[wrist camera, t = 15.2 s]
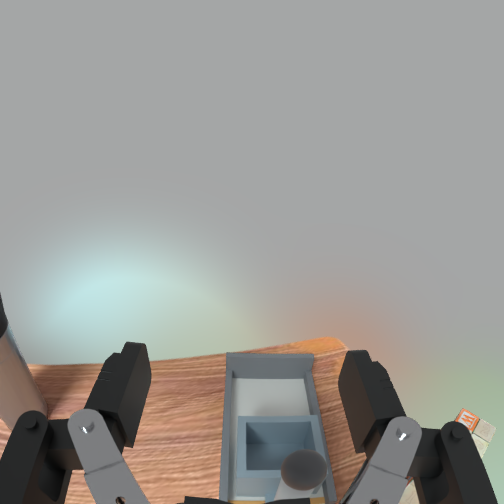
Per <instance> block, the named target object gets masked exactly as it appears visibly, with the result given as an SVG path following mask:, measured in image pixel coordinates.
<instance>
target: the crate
mask: <svg viewBox="0 0 504 504" xmlns="http://www.w3.org/2000/svg"><path fill="white" fill-rule="evenodd" d="M327 476H328V468H327V463H326V458H325V452H324V447H323V442H322V437H321V431H320V426H319V421H318V416H317V415H305V416H238V426H237V467H236V497H265V503H267V502H272V501H276V500H279V499H297V498H309V497H310V495H311V494H317V492H318V490H319V489H320V487H321V486H322V484H323V482H324V481H325V479H326V477H327Z"/></svg>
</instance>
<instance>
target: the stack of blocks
mask: <svg viewBox="0 0 504 504" xmlns="http://www.w3.org/2000/svg"><path fill="white" fill-rule="evenodd" d="M454 421H456V422H460V423H462V424H464V425H465V426H466V427H467V428H468V429H469V431H470V433H471V436H472V438H473V440H474V442H475V445H476V447H477V450H478V452H479V454H480V457H481V459H482V457H483V455H484V453H485V451H486V449H487V447H488V445H489V443H490V441H491V439H492V437H493V435H494V433H495V430H496V428H495V427H494V426H492V425H490V424H489V423H487V422H486V421H484V420H483V419H479V417H477V416H476V415H474V414H472V413H470V412H469V411H467V410H465V409H464V408H462V410H461V411H460V413H459V414H458V416H457V417H456V419H455V420H454ZM399 504H419V500H418V496H417V492H416V488H415V484H414V480H413V477H410V476H409V478H408V483H407V486H406V488H405V490H404V493H403V495H402V497H401V499H400V502H399Z"/></svg>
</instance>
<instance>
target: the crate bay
mask: <svg viewBox="0 0 504 504" xmlns="http://www.w3.org/2000/svg"><path fill="white" fill-rule="evenodd" d="M313 361H314V355H313V354H255V353H226V380H225V396H224V413H223V430H222V448H221V467H220V487H219V500H222V501H226V502H230V503H234V504H263V503H265V497H236V467H237V426H238V416H305V415H317V416H318V421H319V426H320V431H321V437H322V442H323V447H324V452H325V458H326V463H327V468H328V476H327V477H326V479H325V481H324V482H323V484H322V486H321V487H320V489H319V490H318V492H317V494H311V495H310V503H311V504H335V503H336V501H337V496H336V491H335V485H334V480H333V475H332V469H331V464H330V459H329V454H328V449H327V444H326V439H325V434H324V429H323V424H322V419H321V414H320V409H319V405H318V400H317V395H316V390H315V386H314V381H313V377H312V372H311V369H312V365H313Z"/></svg>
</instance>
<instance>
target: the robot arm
mask: <svg viewBox="0 0 504 504" xmlns="http://www.w3.org/2000/svg"><path fill="white" fill-rule="evenodd" d="M150 384H151V368H150V363H149V358H148V353H147V348H146V345H145V344H143V343H135V342H126V343H125V345H124V347H123V350H122V352H121V353H113V354H112V355H111V356H110V357H109V358H108V359H107V360H106V361H105V363H104V365H103V367H102V369H101V372H100V373H99V376H98V379H97V380H96V382H95V384H94V387H93V389H92V391H91V393H90V396H89V398H88V400H87V403H86V405H85V407H84V409H82V410H79V411H77V412H75V413H74V414H72V415H71V417H70V418H69V419H56V420H48V419H47V418H46V417H47V413H48V407H47V403H46V401H45V399H44V397H43V396H42V394H41V392H40V390H39V388H38V386H37V384H36V382H35V380H34V378H33V376H32V374H31V372H30V370H29V368H28V366H27V364H26V362H25V360H24V358H23V356H22V354H21V351H20V349H19V347H18V344H17V342H16V340H15V337H14V335H13V333H12V330H11V328H10V325H9V323H8V320H7V318H6V315H5V312H4V308H3V303H2V299H1V294H0V418H2V420H3V421H4V422H5V424H6V425H7V426H8V428H10V429H11V430H12V433H11V435H10V438H9V440H8V442H7V445H6V447H5V450H4V452H3V455H2V457H1V460H0V504H64V502H65V498H66V494H67V490H68V486H69V482H70V478H71V474H72V470H82V469H84V471H85V474H84V477H85V480H86V483H87V485H88V487H89V489H90V491H91V494H92V496H93V498H94V500H95V502H96V504H150V502H149V501H148V499H147V498H146V496H145V494H144V493H143V491H142V490H141V488H140V486H139V485H138V483H137V481H136V480H135V478H134V476H133V474H132V473H131V471H130V469H129V467H128V466H127V464H126V462H125V460H124V458H123V456H122V452H123V449H124V446H125V447H130V448H133V446H134V442H135V438H136V434H137V430H138V427H139V423H140V419H141V416H142V412H143V409H144V405H145V401H146V398H147V394H148V391H149V388H150ZM338 387H339V392H340V396H341V400H342V403H343V407H344V410H345V414H346V418H347V421H348V425H349V429H350V432H351V436H352V440H353V444H354V448H355V452H356V453H363V452H365V453H366V457H367V458H366V460H365V461H364V463H363V465H362V467H361V469H360V470H359V472H358V474H357V476H356V477H355V479H354V481H353V483H352V484H351V486H350V488H349V489H348V491H347V492H346V494H345V496H344V497H343V498H342V500H341V501H340V503H339V504H399V502H400V499H401V497H402V495H403V493H404V490H405V488H406V486H407V483H408V479H407V478H406V476H410V477H413V480H414V484H415V488H416V492H417V496H418V500H419V504H498V503H497V500H496V497H495V494H494V491H493V488H492V486H491V483H490V480H489V477H488V475H487V472H486V469H485V467H484V464H483V462H482V459H481V457H480V454H479V452H478V450H477V447H476V445H475V442H474V440H473V438H472V436H471V433H470V431H469V429H468V428H467V427H466V426H465V425H464V424H462V423H460V422H456V421H451V422H448V423H446V424H445V425H444V426H443V427H442V429H441V430H440V429H427V428H421V427H420V425H419V424H418V423H417V422H416V421H415V420H413V419H411V418H409V417H407V416H406V414H405V412H404V409H403V407H402V405H401V403H400V400H399V398H398V396H397V393H396V391H395V389H394V388H393V384H392V382H391V381H390V377H389V375H388V373H387V371H386V369H385V368H384V367H383V366H382V365H381V364H380V363H379V362H378V361H376V362H372V361H371V359H370V356H369V354H368V352H367V351H366V350H353V351H348V352H347V353H346V356H345V360H344V363H343V366H342V369H341V372H340V375H339V380H338ZM177 504H234V503H230V502H226V501H222V500H218V499H212V498H199V497H189V496H185V500H184V503H177ZM263 504H311V503H310V497H309V498H297V499H279V500H276V501H272V502H267V503H263Z"/></svg>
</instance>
